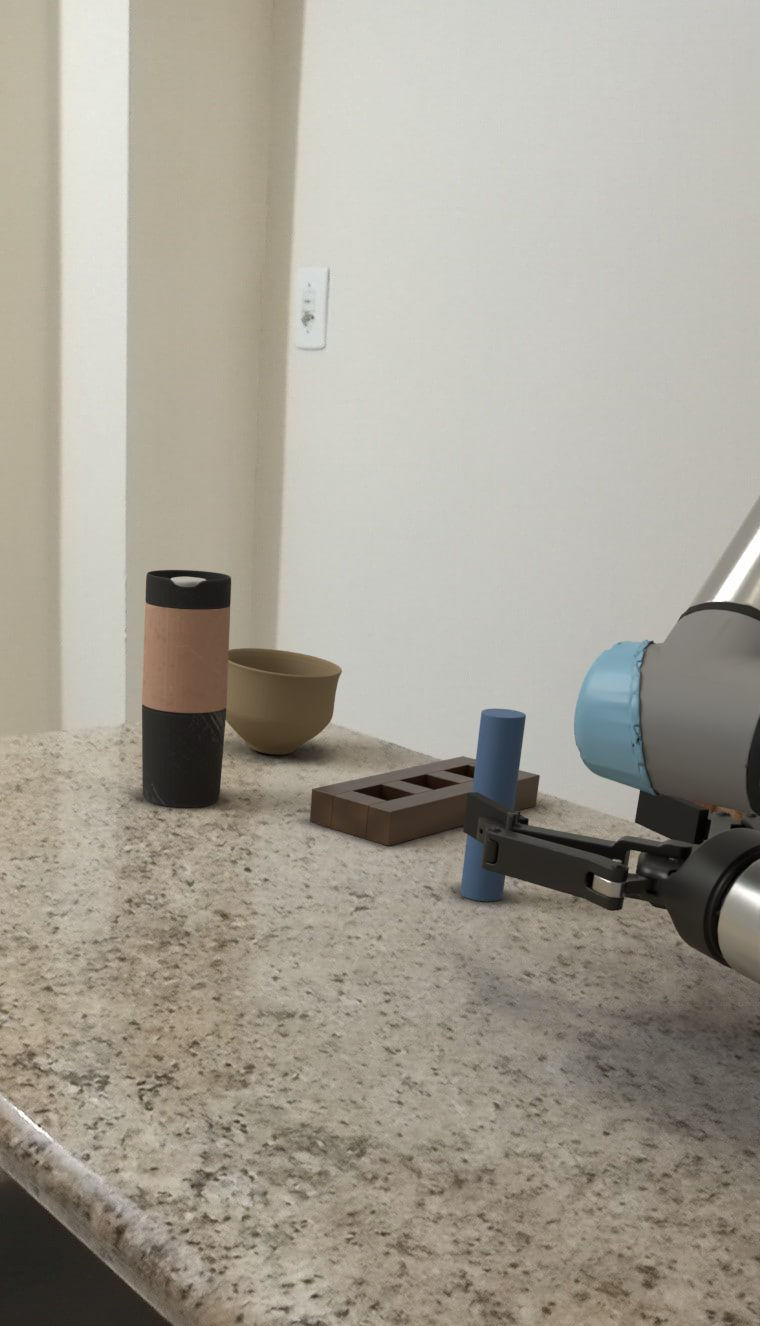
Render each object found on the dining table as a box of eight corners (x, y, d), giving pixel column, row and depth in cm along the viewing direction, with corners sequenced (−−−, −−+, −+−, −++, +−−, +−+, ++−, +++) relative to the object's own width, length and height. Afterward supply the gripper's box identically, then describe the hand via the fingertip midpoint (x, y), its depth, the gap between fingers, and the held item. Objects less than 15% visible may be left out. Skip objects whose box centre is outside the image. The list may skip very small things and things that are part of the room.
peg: (510, 896, 105) (534, 714, 100) (486, 904, 103) (509, 719, 98) (476, 885, 107) (498, 706, 102) (451, 893, 105) (472, 711, 100)
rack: (536, 805, 130) (540, 775, 129) (388, 846, 116) (391, 811, 115) (459, 785, 136) (462, 756, 135) (309, 821, 122) (311, 788, 121)
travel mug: (184, 782, 132) (192, 568, 125) (239, 800, 127) (250, 577, 120) (122, 794, 127) (127, 571, 120) (176, 813, 122) (184, 582, 115)
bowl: (314, 771, 139) (322, 672, 135) (198, 755, 143) (202, 658, 139) (349, 747, 150) (356, 654, 146) (240, 733, 154) (244, 642, 150)
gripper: (562, 993, 73) (388, 870, 91) (928, 956, 81) (699, 850, 99) (583, 858, 70) (399, 759, 89) (959, 833, 78) (718, 748, 97)
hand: (557, 807), depth 94 cm, fingers open, 13 cm apart
